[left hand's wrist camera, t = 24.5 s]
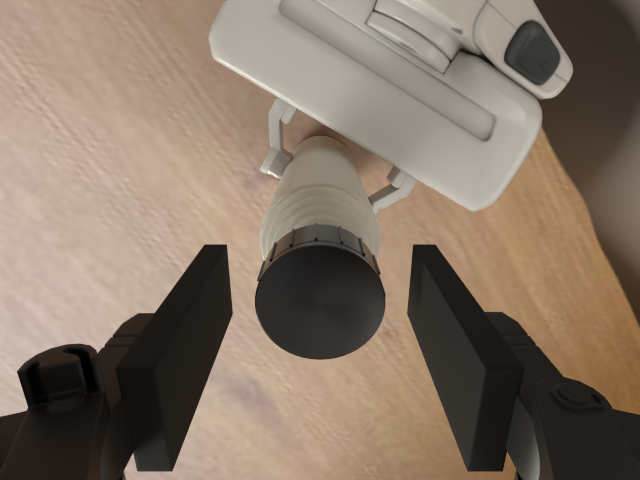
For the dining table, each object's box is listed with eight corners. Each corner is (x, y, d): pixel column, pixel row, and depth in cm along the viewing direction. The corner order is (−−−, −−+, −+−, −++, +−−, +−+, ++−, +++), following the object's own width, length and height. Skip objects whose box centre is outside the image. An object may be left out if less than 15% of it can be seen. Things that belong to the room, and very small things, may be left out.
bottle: (365, 161, 34) (434, 277, 13) (326, 211, 35) (335, 384, 15) (313, 121, 33) (301, 182, 12) (275, 174, 34) (209, 307, 14)
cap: (400, 258, 14) (412, 284, 12) (339, 344, 16) (342, 379, 14) (298, 200, 14) (294, 219, 12) (242, 295, 15) (231, 326, 13)
